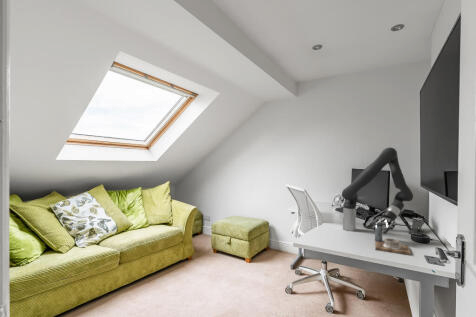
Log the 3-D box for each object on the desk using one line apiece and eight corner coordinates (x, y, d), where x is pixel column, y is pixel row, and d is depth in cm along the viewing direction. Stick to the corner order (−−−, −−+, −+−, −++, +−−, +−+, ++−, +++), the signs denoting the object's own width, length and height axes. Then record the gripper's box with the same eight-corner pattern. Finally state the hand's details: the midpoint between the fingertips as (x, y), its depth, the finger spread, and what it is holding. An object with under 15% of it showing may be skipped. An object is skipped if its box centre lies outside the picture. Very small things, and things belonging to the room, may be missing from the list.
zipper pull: (425, 221, 199) (422, 227, 180) (425, 229, 199) (422, 236, 180) (411, 219, 205) (407, 225, 186) (411, 227, 205) (407, 234, 186)
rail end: (374, 241, 168) (374, 224, 168) (374, 239, 172) (374, 222, 172) (382, 242, 166) (382, 224, 166) (382, 240, 170) (382, 223, 170)
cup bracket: (375, 249, 152) (375, 241, 152) (375, 243, 165) (375, 235, 165) (410, 255, 144) (410, 245, 144) (407, 248, 156) (407, 239, 156)
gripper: (380, 208, 178) (367, 225, 175) (397, 211, 165) (384, 230, 161) (386, 214, 180) (373, 232, 176) (404, 219, 166) (390, 237, 163)
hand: (378, 231), depth 169 cm, fingers open, 8 cm apart
